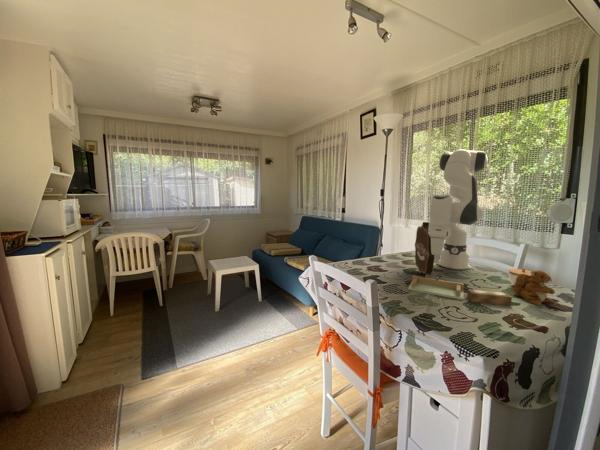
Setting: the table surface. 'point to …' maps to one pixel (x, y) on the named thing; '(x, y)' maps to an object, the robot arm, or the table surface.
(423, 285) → the shallow tray
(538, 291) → the stuffed squirrel
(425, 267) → the decorative plaque
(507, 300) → the brown rectangular block
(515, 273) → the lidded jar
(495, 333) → the table surface
